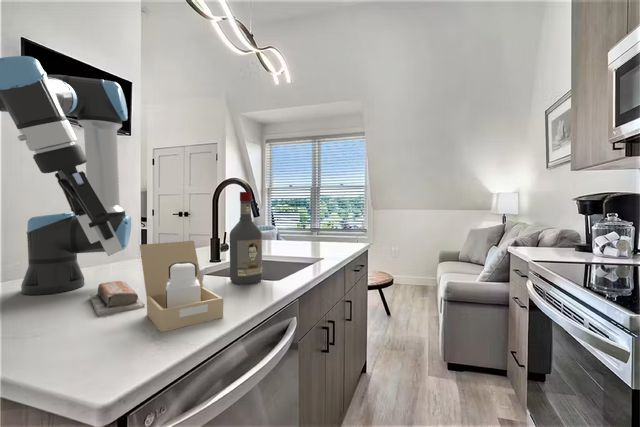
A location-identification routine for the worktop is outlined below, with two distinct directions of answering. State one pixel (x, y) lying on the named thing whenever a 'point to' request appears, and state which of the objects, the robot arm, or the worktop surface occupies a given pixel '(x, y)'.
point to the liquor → (245, 246)
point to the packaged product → (115, 298)
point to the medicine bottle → (182, 285)
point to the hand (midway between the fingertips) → (105, 246)
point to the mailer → (157, 276)
